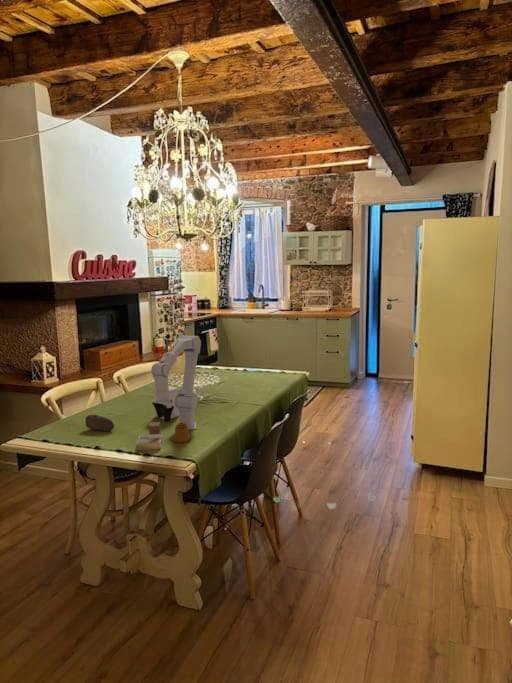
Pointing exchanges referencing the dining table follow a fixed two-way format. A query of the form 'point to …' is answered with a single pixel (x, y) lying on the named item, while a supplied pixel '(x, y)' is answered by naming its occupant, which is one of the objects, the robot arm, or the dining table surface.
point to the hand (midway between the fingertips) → (163, 419)
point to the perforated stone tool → (99, 423)
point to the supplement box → (172, 397)
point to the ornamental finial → (181, 433)
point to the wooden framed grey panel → (149, 442)
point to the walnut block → (154, 428)
